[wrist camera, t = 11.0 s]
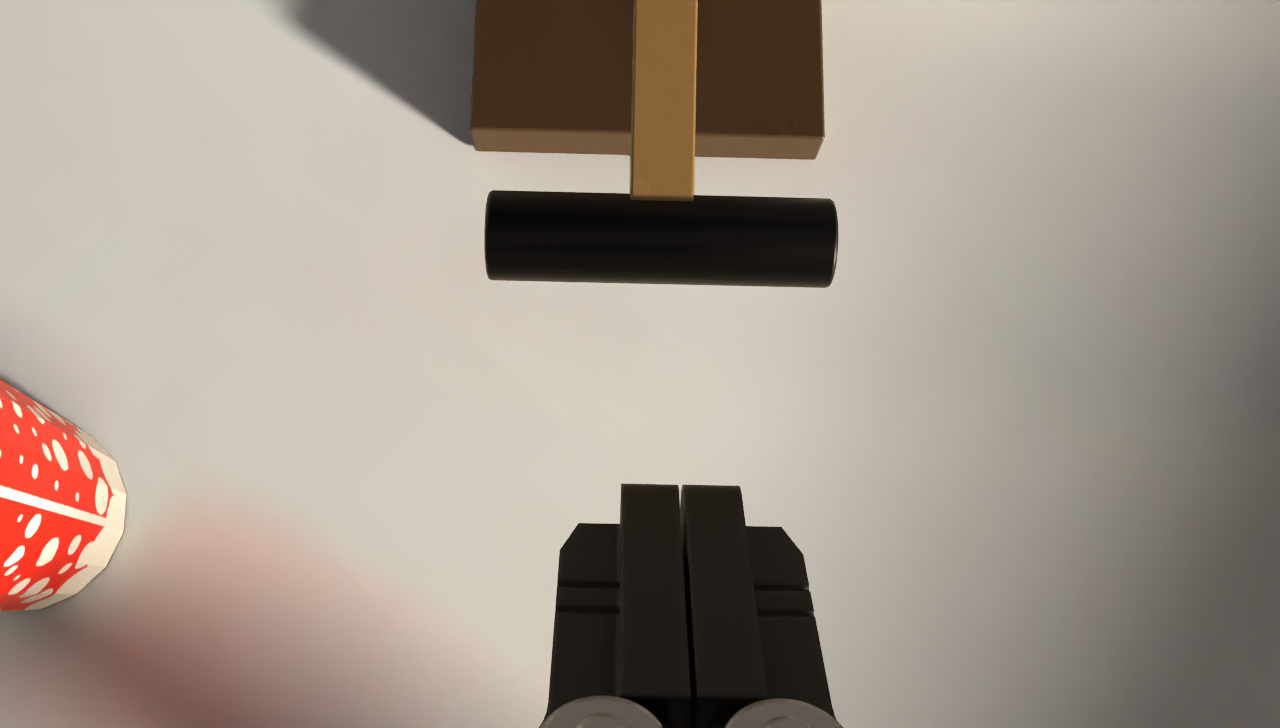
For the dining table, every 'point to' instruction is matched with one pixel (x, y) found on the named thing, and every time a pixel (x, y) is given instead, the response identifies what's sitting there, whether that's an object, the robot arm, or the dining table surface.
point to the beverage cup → (52, 505)
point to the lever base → (602, 77)
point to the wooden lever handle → (661, 198)
